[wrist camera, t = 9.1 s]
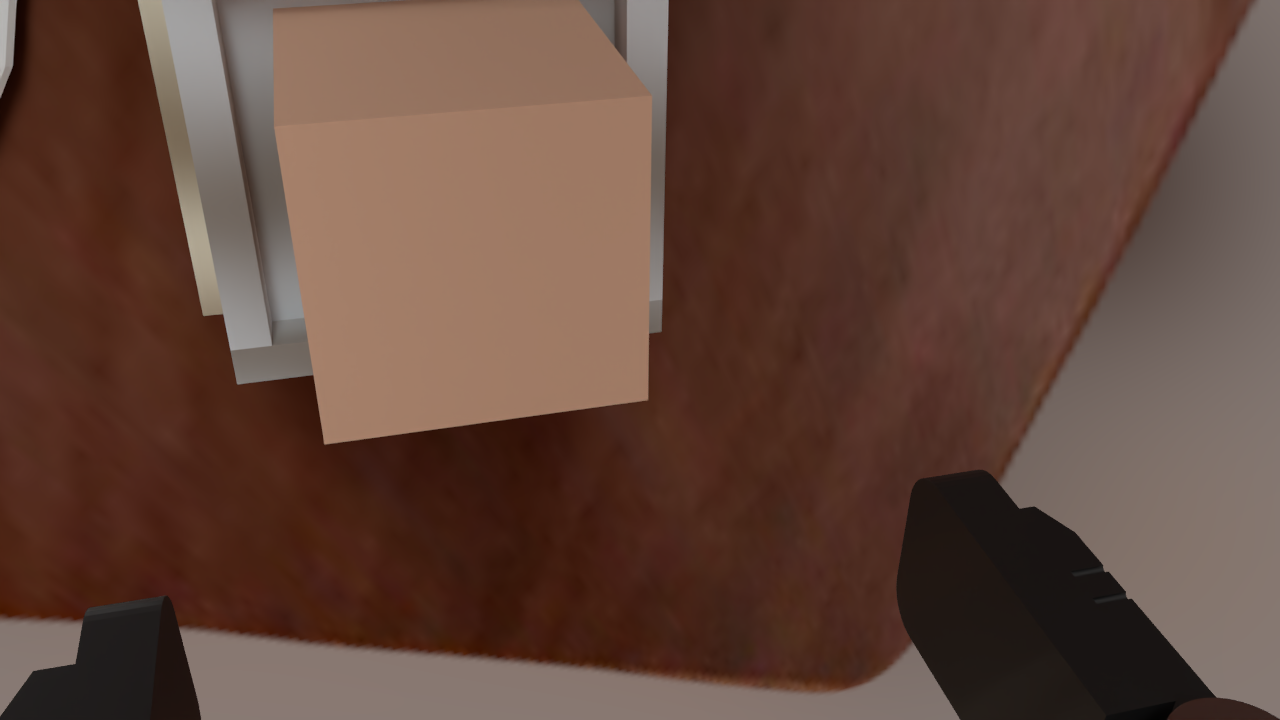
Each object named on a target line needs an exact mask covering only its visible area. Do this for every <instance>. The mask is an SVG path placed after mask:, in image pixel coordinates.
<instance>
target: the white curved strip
mask: <svg viewBox="0 0 1280 720" xmlns="http://www.w3.org/2000/svg"><path fill="white" fill-rule="evenodd" d="M16 11H17V0H0V98H1V95H2V93H3V90H4V88H5V85H6V82H7V80H8V77H9V75H10V72H11V70H12V67H13V62H14V45H15V28H16Z"/></svg>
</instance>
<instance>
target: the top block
mask: <svg viewBox="0 0 1280 720" xmlns="http://www.w3.org/2000/svg"><path fill="white" fill-rule="evenodd" d="M273 71H274V130H275V136H276V142H277V149H278V155H279V161H280V168H281V174H282V180H283V187H284V193H285V199H286V205H287V212H288V218H289V224H290V231H291V237H292V243H293V249H294V256H295V262H296V268H297V275H298V281H299V287H300V294H301V300H302V306H303V312H304V319H305V325H306V331H307V338H308V344H309V350H310V356H311V363H312V369H313V375H314V382H315V388H316V394H317V401H318V407H319V413H320V419H321V426H322V432H323V438H324V445H325V444H332V443H339V442H347V441H354V440H361V439H368V438H376V437H383V436H390V435H398V434H405V433H412V432H419V431H427V430H434V429H441V428H449V427H456V426H463V425H471V424H478V423H485V422H492V421H500V420H507V419H514V418H522V417H529V416H536V415H543V414H551V413H558V412H565V411H573V410H580V409H587V408H594V407H602V406H609V405H616V404H624V403H631V402H638V401H645V400H648V368H649V293H650V218H651V143H652V95H651V94H650V92H649V91H648V90H647V88H646V87H645V86H644V84H643V83H642V82H641V81H640V79H639V78H638V77H637V75H636V74H635V73H634V71H633V70H632V69H631V68H630V66H629V65H628V64H627V62H626V61H625V60H624V58H623V57H622V56H621V55H620V53H619V52H618V51H617V49H616V48H615V47H614V45H613V44H612V43H611V42H610V40H609V39H608V38H607V36H606V35H605V34H604V32H603V31H602V30H601V29H600V27H599V26H598V25H597V23H596V22H595V21H594V19H593V18H592V17H591V16H590V14H589V13H588V12H587V10H586V9H585V8H584V6H583V5H582V4H581V3H580V1H579V0H404V1H388V2H371V3H355V4H339V5H322V6H306V7H290V8H274V9H273Z"/></svg>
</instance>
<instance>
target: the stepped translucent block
mask: <svg viewBox="0 0 1280 720" xmlns="http://www.w3.org/2000/svg"><path fill="white" fill-rule="evenodd" d="M388 1H404V0H138V4H139V9H140V13H141V18H142V23H143V28H144V33H145V37H146V42H147V47H148V52H149V57H150V62H151V66H152V71H153V76H154V81H155V86H156V90H157V95H158V100H159V105H160V110H161V115H162V119H163V124H164V129H165V134H166V139H167V143H168V148H169V153H170V158H171V163H172V167H173V172H174V177H175V182H176V187H177V192H178V196H179V201H180V206H181V211H182V216H183V220H184V225H185V230H186V235H187V240H188V245H189V249H190V254H191V259H192V264H193V269H194V273H195V278H196V283H197V288H198V293H199V298H200V302H201V307H202V312H203V316H208V315H217V314H223V315H224V320H225V325H226V330H227V335H228V340H229V345H230V350H231V355H232V360H233V365H234V370H235V375H236V381H237V384H244V383H253V382H261V381H269V380H277V379H285V378H293V377H301V376H309V375H313V369H312V363H311V356H310V350H309V344H308V338H307V331H306V325H305V319H304V312H303V306H302V300H301V294H300V287H299V281H298V275H297V268H296V262H295V256H294V249H293V243H292V237H291V231H290V224H289V218H288V212H287V205H286V199H285V193H284V187H283V180H282V174H281V168H280V161H279V155H278V149H277V142H276V136H275V130H274V71H273V9H274V8H290V7H306V6H322V5H339V4H355V3H371V2H388ZM579 1H580V3H581V4H582V5H583V6H584V8H585V9H586V10H587V12H588V13H589V14H590V16H591V17H592V18H593V19H594V21H595V22H596V23H597V25H598V26H599V27H600V29H601V30H602V31H603V32H604V34H605V35H606V36H607V38H608V39H609V40H610V42H611V43H612V44H613V45H614V47H615V48H616V49H617V51H618V52H619V53H620V55H621V56H622V57H623V58H624V60H625V61H626V62H627V64H628V65H629V66H630V68H631V69H632V70H633V71H634V73H635V74H636V75H637V77H638V78H639V79H640V81H641V82H642V83H643V84H644V86H645V87H646V88H647V90H648V91H649V92H650V94H651V95H652V143H651V218H650V293H649V333H656V332H662V287H663V239H664V192H665V144H666V97H667V49H668V2H669V0H579Z"/></svg>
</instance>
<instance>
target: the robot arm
mask: <svg viewBox="0 0 1280 720" xmlns="http://www.w3.org/2000/svg"><path fill="white" fill-rule="evenodd" d="M897 600H898V606H899V611H900V614H901V618H902V621H903V624H904V626H905V628H906V631H907V633H908V635H909V636H910V638H911V640H912V641H913V643H914V645H915V646H916V648H917V650H918V651H919V653H920V654H921V656H922V658H923V659H924V661H925V663H926V664H927V666H928V668H929V669H930V671H931V672H932V674H933V675H934V677H935V679H936V681H937V682H938V684H939V685H940V687H941V689H942V690H943V692H944V694H945V695H946V697H947V698H948V700H949V701H950V703H951V705H952V706H953V708H954V710H955V711H956V713H957V715H958V716H959V718H960V720H1280V719H1279V718H1277V717H1275V716H1274V715H1272V714H1270V713H1268V712H1266V711H1264V710H1262V709H1260V708H1258V707H1255V706H1253V705H1250V704H1247V703H1244V702H1240V701H1236V700H1231V699H1223V698H1217V697H1216V696H1215V695H1214V694H1213V693H1212V692H1211V691H1210V690H1209V689H1208V687H1207V686H1206V685H1205V684H1204V683H1203V682H1202V681H1201V679H1200V678H1199V677H1198V676H1197V675H1196V673H1195V672H1194V671H1193V670H1192V669H1191V667H1190V666H1189V665H1188V664H1187V663H1186V662H1185V660H1184V659H1183V658H1182V657H1181V656H1180V655H1179V653H1178V652H1177V651H1176V650H1175V649H1174V648H1173V646H1171V644H1170V643H1169V642H1168V641H1167V639H1166V638H1165V637H1164V636H1163V635H1162V634H1161V632H1160V631H1159V630H1158V629H1157V628H1156V627H1155V626H1154V624H1152V622H1151V621H1150V620H1149V618H1148V617H1147V616H1146V615H1145V614H1144V612H1143V611H1142V610H1141V609H1140V608H1139V607H1138V606H1137V604H1136V603H1135V602H1134V601H1133V600H1132V599H1127V597H1126V591H1125V590H1124V589H1123V588H1122V587H1121V586H1120V584H1119V583H1118V582H1117V581H1116V580H1115V579H1114V578H1113V576H1112V575H1111V574H1110V573H1109V572H1104V570H1103V565H1102V563H1101V562H1100V561H1099V560H1098V559H1097V557H1096V556H1095V555H1094V554H1093V553H1092V552H1091V550H1090V549H1089V548H1088V547H1087V546H1086V545H1085V544H1084V543H1083V541H1082V540H1081V539H1080V538H1079V536H1078V535H1077V534H1076V533H1075V532H1074V531H1072V530H1070V529H1069V528H1067V527H1065V526H1064V525H1063V524H1061V523H1059V522H1058V521H1056V520H1055V519H1053V518H1052V517H1050V516H1048V515H1047V514H1045V513H1044V512H1042V511H1041V510H1039V509H1037V508H1036V507H1028V508H1022V509H1019V508H1018V507H1017V505H1016V504H1015V503H1014V502H1013V501H1012V499H1011V498H1010V497H1009V496H1008V494H1007V493H1006V492H1005V491H1004V489H1003V488H1002V487H1001V486H1000V485H999V483H998V482H997V481H996V480H995V478H994V477H993V476H992V475H991V474H989V473H988V472H987V471H984V470H974V471H967V472H961V473H955V474H948V475H942V476H936V477H929V478H923V479H920V480H918V481H917V482H916V483H915V485H914V487H913V489H912V492H911V497H910V503H909V509H908V515H907V521H906V527H905V533H904V539H903V545H902V551H901V557H900V563H899V569H898V575H897ZM0 720H201V716H200V710H199V704H198V700H197V696H196V692H195V688H194V684H193V681H192V677H191V673H190V669H189V665H188V662H187V658H186V654H185V650H184V646H183V642H182V638H181V634H180V630H179V627H178V623H177V619H176V615H175V611H174V608H173V605H172V602H171V600H170V598H169V597H168V596H161V597H155V598H148V599H142V600H135V601H129V602H123V603H116V604H110V605H104V606H97V607H91V608H89V609H87V611H86V613H85V616H84V620H83V625H82V630H81V636H80V642H79V647H78V653H77V659H76V664H73V665H67V666H61V667H55V668H49V669H43V670H37V671H33V672H32V674H31V675H30V676H29V678H28V679H27V681H26V682H25V683H24V685H23V686H22V687H21V689H20V690H19V691H18V693H17V694H16V696H15V697H14V698H13V700H12V701H11V703H10V704H9V705H8V707H7V708H6V709H5V711H4V712H3V713H2V715H1V716H0Z"/></svg>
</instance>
